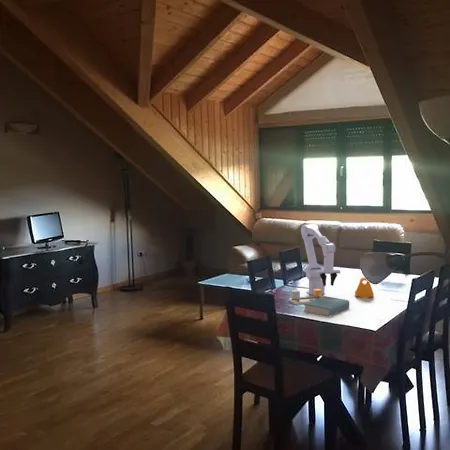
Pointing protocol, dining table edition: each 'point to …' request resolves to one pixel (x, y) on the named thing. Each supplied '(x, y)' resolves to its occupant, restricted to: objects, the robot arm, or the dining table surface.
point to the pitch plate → (300, 298)
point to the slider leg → (317, 293)
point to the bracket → (364, 289)
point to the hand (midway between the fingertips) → (328, 285)
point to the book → (326, 306)
